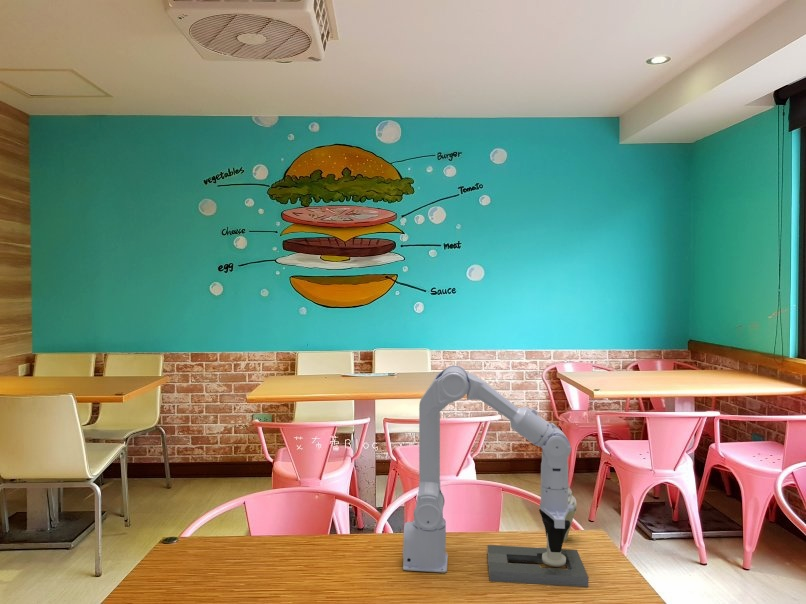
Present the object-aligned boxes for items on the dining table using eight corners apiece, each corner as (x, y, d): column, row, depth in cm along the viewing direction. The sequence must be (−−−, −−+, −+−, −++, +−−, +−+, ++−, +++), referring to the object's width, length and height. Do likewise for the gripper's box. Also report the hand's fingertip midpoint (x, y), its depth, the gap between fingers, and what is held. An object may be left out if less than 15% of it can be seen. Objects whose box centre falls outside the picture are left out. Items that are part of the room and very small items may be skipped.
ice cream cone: (577, 546, 132) (577, 483, 131) (555, 544, 133) (555, 482, 132) (575, 537, 137) (575, 476, 136) (553, 535, 138) (554, 475, 137)
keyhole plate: (489, 581, 116) (489, 571, 116) (487, 554, 128) (487, 544, 128) (588, 587, 114) (588, 576, 114) (576, 558, 126) (576, 549, 126)
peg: (543, 565, 118) (543, 528, 118) (541, 554, 123) (541, 518, 123) (567, 567, 118) (567, 530, 117) (564, 556, 123) (564, 520, 122)
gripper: (580, 498, 112) (579, 565, 113) (567, 474, 127) (567, 533, 127) (544, 497, 113) (544, 563, 113) (535, 473, 128) (535, 532, 128)
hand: (554, 547), depth 120 cm, fingers closed on peg, 3 cm apart
